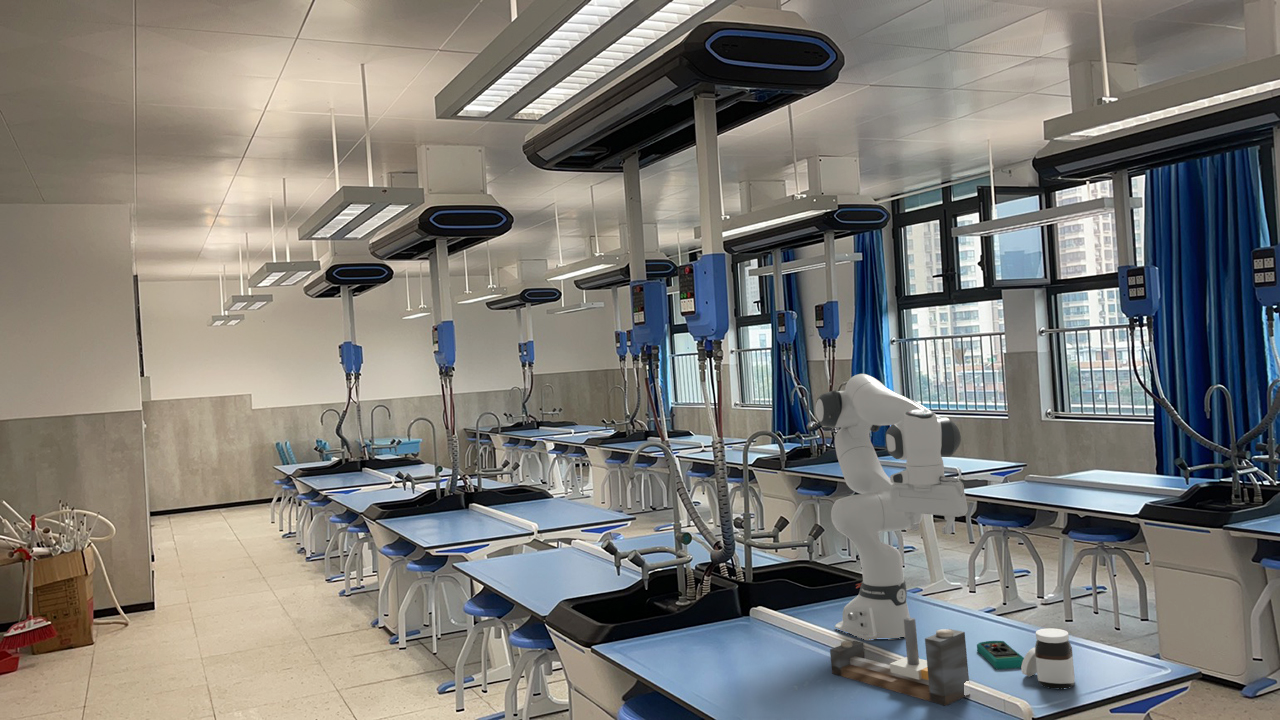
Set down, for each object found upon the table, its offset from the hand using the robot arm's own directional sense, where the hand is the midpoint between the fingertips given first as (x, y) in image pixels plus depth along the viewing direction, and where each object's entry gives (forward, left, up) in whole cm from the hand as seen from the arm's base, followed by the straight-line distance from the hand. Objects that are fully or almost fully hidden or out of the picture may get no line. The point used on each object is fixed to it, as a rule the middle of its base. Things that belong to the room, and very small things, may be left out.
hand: (930, 532), depth 229 cm
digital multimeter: (+7, +13, -34) cm, 37 cm away
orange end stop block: (+9, -16, -29) cm, 35 cm away
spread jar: (+24, +6, -33) cm, 42 cm away
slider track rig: (-1, -16, -33) cm, 37 cm away
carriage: (+4, -16, -29) cm, 34 cm away
